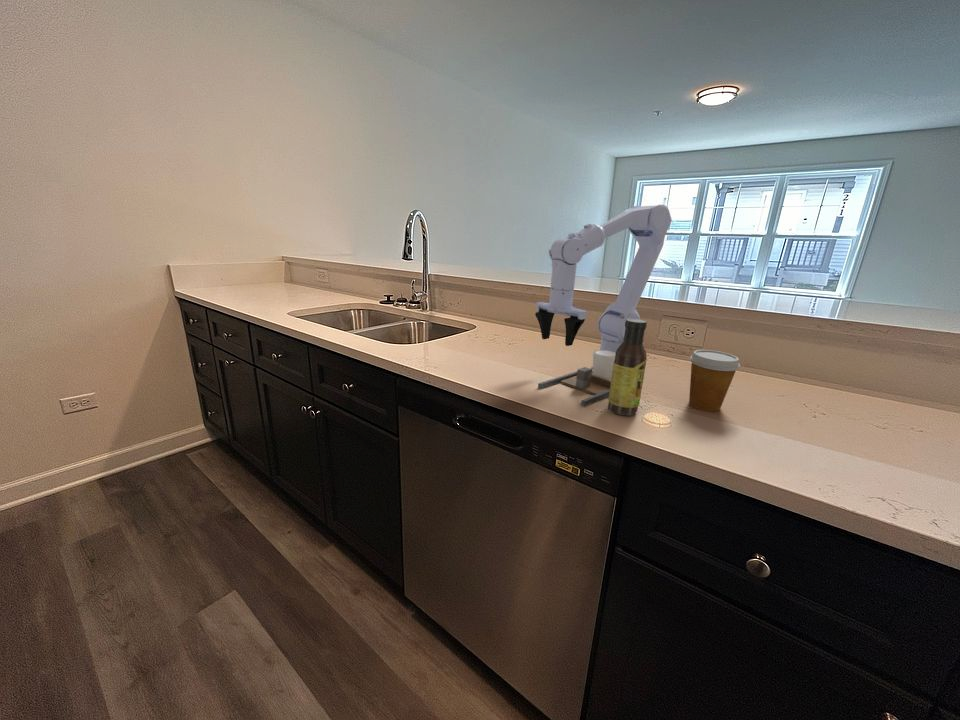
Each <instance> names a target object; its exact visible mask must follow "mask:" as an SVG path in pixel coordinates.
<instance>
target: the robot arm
mask: <svg viewBox="0 0 960 720" xmlns="http://www.w3.org/2000/svg"><path fill="white" fill-rule="evenodd" d="M671 223H672V216H671V213H670V208H669V207H668V206H667V205H666V204H661V203H660V204H657V205H643V206H642V205H641V206H639V205H635V206H631V208H627V209H625V210H624V211H622V212H621V213H619V214H617V215H616V216H614V217H612V218H610V219H609V220H607V221H606V222H603V223H602V224H600V225H598V224H595V223H586V224H584V225H583V227H584V228H582V229H580V230H578V231H576V232H570V233H568V236H567V237H566V238H557V239H556V240H554V242H553V243H552V245H551V246H550V248H549V249H548V256H549V258H550V260H551V267H552V268H551V279H550V281H551V282H550V291H549V301H548V302H542V301H539V302H535V311H538V312H535V314H534V315H535V317H536V319H537V321H538V324H539V327H540V334H541V339H542V340H547V339H550V337H551V328H552V322H553V319H554V316H555V314H556V315H562V316H565V317H566V318H564V319H563V320H564V324H565V338H564V339H565V340H564V345H565V346H566V347H571V346H572V345H573V344H574V340H575V339H576V337H577V334H578V332H579V330H580V329H581V327H582V325H583V324H584V323H585V320H586V319H587V314H588V313H587V312H588V310H584V309H580V308H577V307H575V306H573V301H574V292H575V283H576V282H575V281H576V273H577V271H576V270H577V264H578V263H580V261H581V260H582V259H583V256H584V255H587V254H588V253H590V252H592V251H594V250H596V249H598V248H600V247H602V246H603V245H604V243H605V239H607V238H609V237H612V236H614V235H616V234H618V233H620V232H623V231H625V230H627V229H628V231H629V232H630V234H631V235H632V236H633V238H634V239H635V241H636V242H637V243H638V246H639V247H638V248H637V251H636V254H635V256H634V259H633V261H632V263H631V264H630V268H629V270H628V272H627V274H626V277H625V279H624V281H623V284H622V286H621V289H620V290H619V293H618V295H617V298H616V300H615V301H613V302H612V303H610V304H609V305H607V306H606V308H605V310H604V312H603V313H602V315H600V317H598V321H597V330H598V331H599V332H600V338H601V340H600V349H599V350H610V351H614V352H616V350H617V349H618V348H619V346H620V345H621V344H622V343H623V338H624V335H625V322H626V320H627V319H639V320H641V317H640V315H639V312H638V310H637V306H638V303H640V302H639V301H640V299H641V297H642V295H643V292H644V290H645V288H646V286H647V283H648V281H649V279H650V276H651V275H652V272H653V270H654V267H655V265H656V263H657V261H658V259H659V256H660V253H661V251H662V249H663V248H664V247H663V246H664V242H665V238H666V234H667V233H668V231H669V228H670V226H671ZM590 369H593V365H591V368H590Z"/></svg>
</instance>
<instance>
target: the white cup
mask: <svg viewBox="0 0 960 720" xmlns="http://www.w3.org/2000/svg"><path fill="white" fill-rule="evenodd" d="M615 355H616V352H614V351H610V350H600V349H596V350H593V353H592V366H593V368H592V371H593V376H596V377H599V378H602V379H605V380H608V381H611V378H612V372H613V365H614V361H615Z"/></svg>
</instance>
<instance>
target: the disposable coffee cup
mask: <svg viewBox="0 0 960 720" xmlns="http://www.w3.org/2000/svg"><path fill="white" fill-rule="evenodd" d="M689 358H690V359H689V360H690V362H691V368H690V380H689V381H690V383H689V397H688V398H689V399H688V404H689V405H690V406H691V407H693V408H695V409H697V410H700V411H706V412H719V411H720V410H721V408H722V406H723V402H724V400H725V398H726V395H727V393H728V391H729V387H730V386H731V385H732V381H733V378H734V376H735V373H736V371H737V370H738V369H739V368H740V366H741V364H740V362H739V361H740V359H739V357H737V356H736V355H734V354H731V353H728V352H723V351H719V350H713V349H712V350H711V349H697V350H694V351H693V353H692V355H690V357H689Z"/></svg>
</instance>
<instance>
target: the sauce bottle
mask: <svg viewBox="0 0 960 720" xmlns="http://www.w3.org/2000/svg"><path fill="white" fill-rule="evenodd" d="M647 323H648V322H647V321H646V320H643V319H627V320H626V322H625V335H624V338H623V343H622V344H621V345H620V346H619V348H618V349H617V350H616V355H615V361H614V365H613V372H612V378H611V385H610V392H609V396H608V404H607V409H608V410H609V411H610V412H611V413H612V414H615V415H616V414H617V415H621V416H632V415H633V416H634V415H635V414H637V412H638V409H639V405H640V402H641V396H642V391H643V384H644V378H645V370H646V364H647V361H648V360H647V358H648V357H647V352H646V350H645V347H644V344H643V342H644V338H645V337H644V336H645V331H646V328H647Z"/></svg>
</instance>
